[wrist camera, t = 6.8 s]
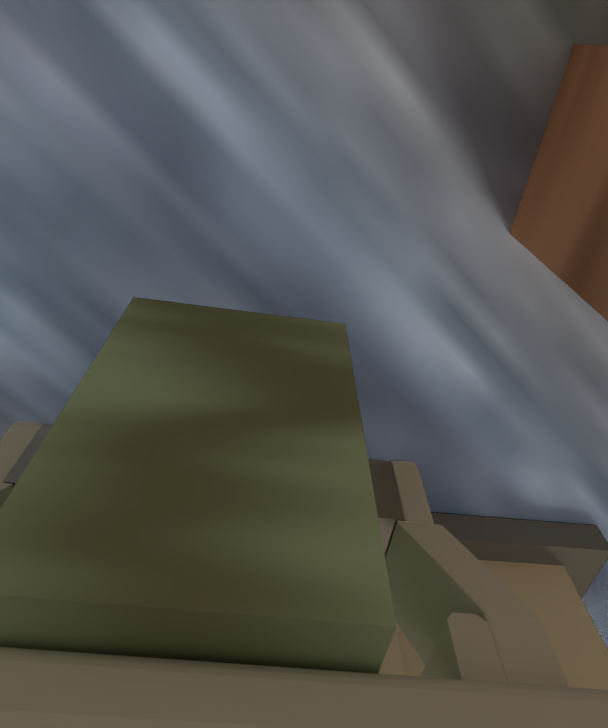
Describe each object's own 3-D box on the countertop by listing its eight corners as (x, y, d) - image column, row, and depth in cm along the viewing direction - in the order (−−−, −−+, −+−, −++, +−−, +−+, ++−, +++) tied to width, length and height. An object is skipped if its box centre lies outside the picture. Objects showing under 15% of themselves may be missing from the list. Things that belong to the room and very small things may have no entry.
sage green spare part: (345, 323, 12) (396, 626, 6) (313, 477, 14) (325, 809, 8) (133, 297, 11) (-52, 592, 5) (136, 460, 14) (10, 793, 8)
